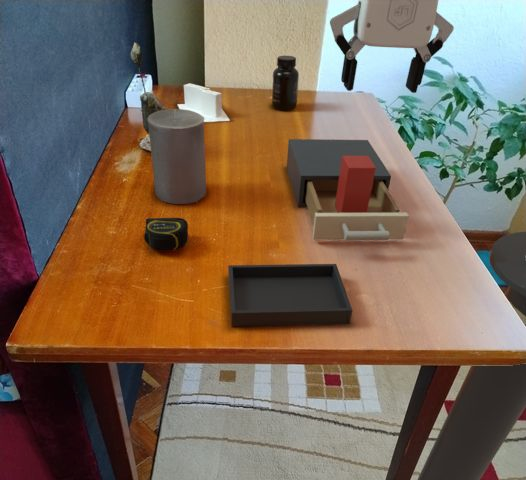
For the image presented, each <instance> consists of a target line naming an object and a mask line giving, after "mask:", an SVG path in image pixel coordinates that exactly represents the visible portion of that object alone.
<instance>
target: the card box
mask: <svg viewBox="0 0 526 480" xmlns="http://www.w3.org/2000/svg"><path fill="white" fill-rule="evenodd" d="M375 170H376V167H375V166H374V164H373V163H372V161H371V159H370V158H369V156H342V161H341V168H340V174H339V181H338V187H337V194H336V201H335V207H336V209H337V212H338V213H367V209H368V204H369V199H370V194H371V189H372V184H373V180H374V175H375Z"/></svg>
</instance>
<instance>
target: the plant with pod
mask: <svg viewBox="0 0 526 480" xmlns="http://www.w3.org/2000/svg"><path fill="white" fill-rule="evenodd" d="M130 58H131V60H132V62H133V63H134V64H135V65H136V66H137V68H138V71H139V75H140V79H141V83H142V87H143V93H142V94H140V96H139V100H140V107H141V109H140V112H141V118H142V127H143V130H144V131H145V132H146V133H147V134H145V137H142V138H140V139H139V144H138V145H139V146H138V147H139V148H141V149H144V150H145V151H149V152H151V145H150V136H149V127H148V116H149V115H150V114H152V113H154V112H157V111H161V110H167V108H165V106H164V104H163V102H162V101H161V100H160V99H159V97H158V96H157V95H156V94H155V93H153V92H150V91H146V87H145V83H144V79H143V75H142V68H141V65H142V64H143V57H142V50H141V45H140V44H139V43H138V42H133V46H132V48H131V51H130Z"/></svg>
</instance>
